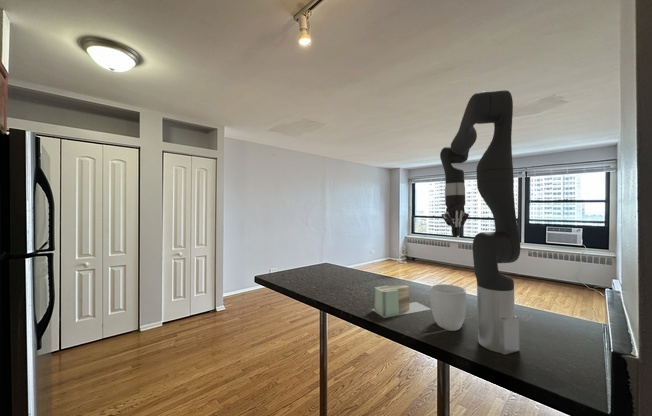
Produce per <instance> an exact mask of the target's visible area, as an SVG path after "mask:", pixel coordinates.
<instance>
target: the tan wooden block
mask: <svg viewBox="0 0 652 416" xmlns="http://www.w3.org/2000/svg"><path fill="white" fill-rule="evenodd" d="M389 286H390V287H382V288H379V289H381V290H383V291H388V290H396V289H397V290H398V302H399V311H404V310H410V308H409V303H410V286H408V285H405V284H399V285H398V284H397V285H389Z"/></svg>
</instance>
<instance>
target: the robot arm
mask: <svg viewBox="0 0 652 416" xmlns="http://www.w3.org/2000/svg"><path fill="white" fill-rule="evenodd" d="M513 107H514V101H513V96H512V93H511V92H510V91H509V90H508V89H498V90H497V89H495V90H487V91H486V90H484V91H478V92H475V93H473V95H472V96H471V97H470V98H469V100H468V102H467V104H466V107H465V109H464V112H463V115H462V118H461V122H460V125H459V128H458V131H457V133H456V134H455V136H454V138H453V139H452V141H451V143H450V146H445V147H443V148H442V149H441V151H440V153H439V156H440V157H439V158H440V161H441V163H442V166H443V167H442V168H443V171H444V176H445V179H444V181H445V188H444V202H445V205H444V206H446V208H445V212H444V213H442V214H441V217H442V218H443V220H444V222H445V224H446V225H447V226H448V227H451V235H452V237H460V234H461V230H460V229H461V227H462V226H464V225H465V224H466V221H467V219H468V218H469V217H470V214H469V213H468V212H467V213H466V211H465V206H466V186H465V172H464V170H463V169H461V168H456V167H454V166H453V164H454V165H455V164H463V163H465V162H467V161H468V158H469V152H470V149H471V148H472V147H473V146H474V144H475V143H476V140H477V138H478V134H477V130H476V128H475V127H474V126H475V125H476V124H478V125H485V124H493V127H494V130H493V137H492V139H491V141H490V143H489V145H488V146H487V148H486V150H484V153H483V154H482V156H481V158H480V159H479V161H478V163H477V165H476V169H475V170H476V187H477V192H479V195H480V196H481V198H482V200H483V201H484V202H485V204H486V205H487V207H488V208H489V211H491V214H492V216H493V221H494V231H484V232H478V233H477V234H475V235H474V238H473V240H472V257H473V258H472V259H473V271H474V275H475V278H476V301H477V302H476V303H477V304H476V305H477V334H478V335H477V336H478V344H479V345H480V346H481V347H483V348H485V349H487V350H489V351H492V352H495V353H500V354H502V355H509V354H512V353H516V352H519V351H520V326H519V325H520V322H519V319H520V318H519V316H517V315H516V311H515V310H516V308H515V282H514V279H513V278H512V277H511V276H509V275H505V274H503V273H501V272H500V271H499V266H498V264H509V263H511V264H512V263H514V262H517V260H518V259H519V258H520V254H521V238H520V232H519V227H518V221H517V215H516V206H515V205H516V204H515V203H516V202H515V189H514V188H515V187H514V182H515V181H514V180H515V179H514V166H513V151H512V150H513V148H512V133H513V131H512V130H513V117H514V116H513V112H514V110H513V109H514V108H513Z"/></svg>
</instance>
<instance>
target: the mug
mask: <svg viewBox="0 0 652 416" xmlns="http://www.w3.org/2000/svg"><path fill="white" fill-rule="evenodd" d="M466 292H467V291H466V289H465V288H464V287H462V286H458V285H455V284H454V285H453V284H444V283H442V284H441V283H439V284H433V285H432V286H430V306H431V307H430V309H431V311H432V312H431V313H432V316H433V319H434V321H435V323H436V325H437V326H438V327H440V328H442V329H444V330H445V331H449V332H451V331H452V332H455V331H458V330H460V329H461V328H462V326H463V324H464V322H465V317H466V313H467V306H468V300H467V293H466Z"/></svg>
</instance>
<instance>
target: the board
mask: <svg viewBox="0 0 652 416" xmlns="http://www.w3.org/2000/svg"><path fill="white" fill-rule="evenodd" d="M409 308H410V310H404V311H399V314H394V315H388V316H383V315H381V314H380V313H378V312H377V311H375V308H372V309H371V311H373V312H374V313H376V314H377V315H379V316H381V317H382V318H384V319H385V318H391V317H397V316H401V315H408V314H412V313H418V312H419V313H420V312H423V311H430V310H431V307H428V306H426V305H424V304H422V303H419V302H417V301H414V302H409Z"/></svg>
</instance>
